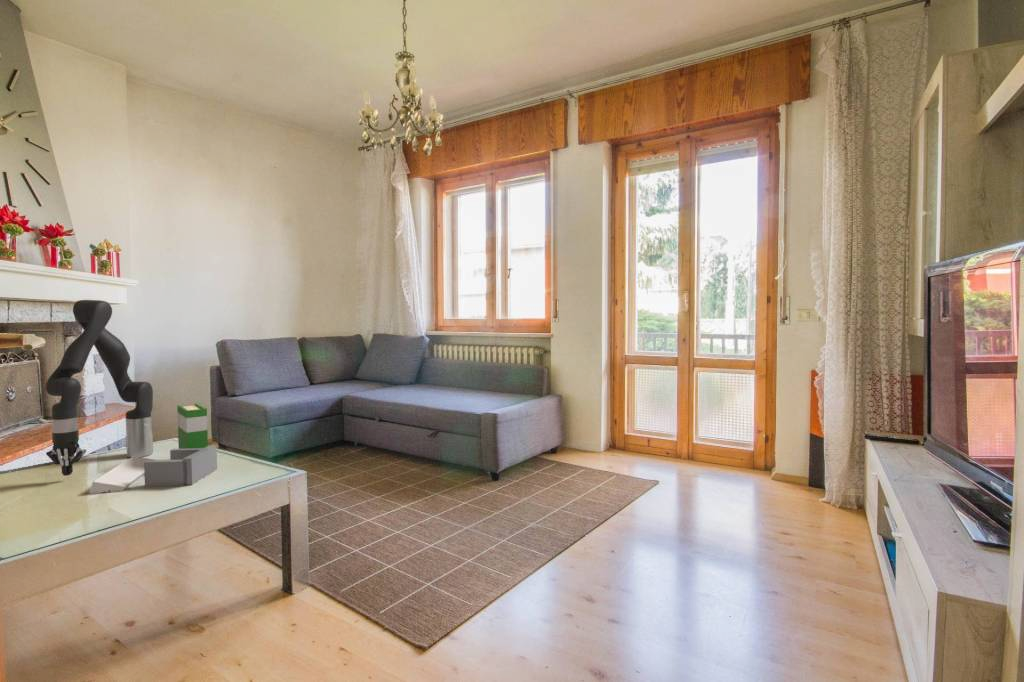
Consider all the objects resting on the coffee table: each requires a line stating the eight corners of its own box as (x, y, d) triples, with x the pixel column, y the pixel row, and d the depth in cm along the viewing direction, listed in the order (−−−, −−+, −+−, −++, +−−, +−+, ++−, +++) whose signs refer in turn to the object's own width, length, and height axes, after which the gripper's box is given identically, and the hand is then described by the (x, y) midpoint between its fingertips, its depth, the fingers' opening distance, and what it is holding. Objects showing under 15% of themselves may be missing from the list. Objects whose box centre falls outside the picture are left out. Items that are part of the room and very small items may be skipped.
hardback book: (179, 459, 219) (177, 405, 218) (198, 456, 224) (197, 403, 223) (187, 468, 206) (186, 411, 205) (208, 465, 212) (206, 408, 210)
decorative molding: (156, 471, 213) (129, 467, 210) (159, 460, 213) (132, 456, 210) (121, 499, 180) (88, 494, 177) (125, 486, 180) (92, 481, 177)
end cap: (174, 470, 204) (173, 446, 203) (217, 469, 205) (216, 445, 205) (144, 486, 185) (143, 459, 184) (192, 485, 186) (191, 458, 186)
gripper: (91, 427, 195) (93, 471, 195) (54, 428, 193) (56, 472, 194) (76, 431, 187) (78, 477, 188) (38, 432, 186) (40, 478, 187)
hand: (67, 474), depth 191 cm, fingers closed
